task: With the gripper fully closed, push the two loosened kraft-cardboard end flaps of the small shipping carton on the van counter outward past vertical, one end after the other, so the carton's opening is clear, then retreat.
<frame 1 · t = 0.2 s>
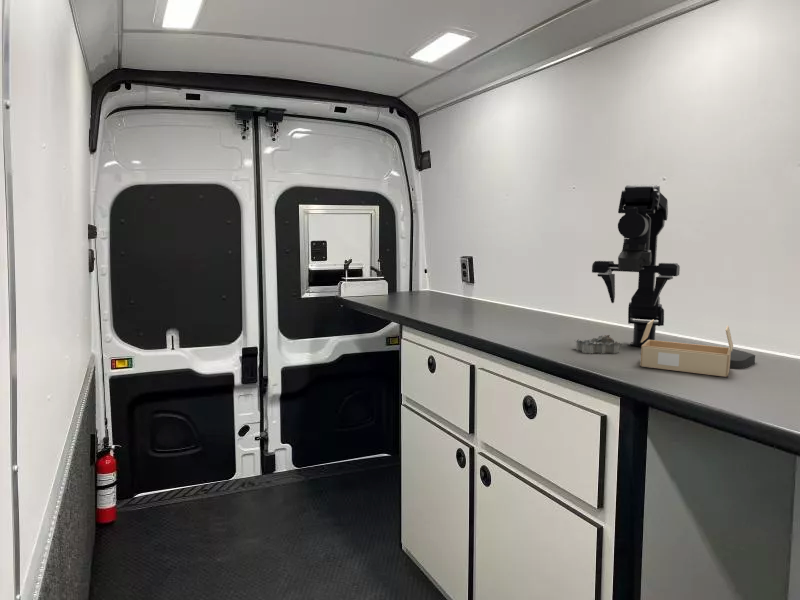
hand: (632, 304, 137), 14 cm above the worktop, fingers open, 9 cm apart
flap b: (647, 330, 138), point 8 cm above the worktop, hinge at 15.0°
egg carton: (597, 352, 154), on the worktop
flap a: (729, 338, 129), point 8 cm above the worktop, hinge at 15.0°
media streaming box: (717, 363, 143), on the worktop
carton: (684, 367, 135), on the worktop
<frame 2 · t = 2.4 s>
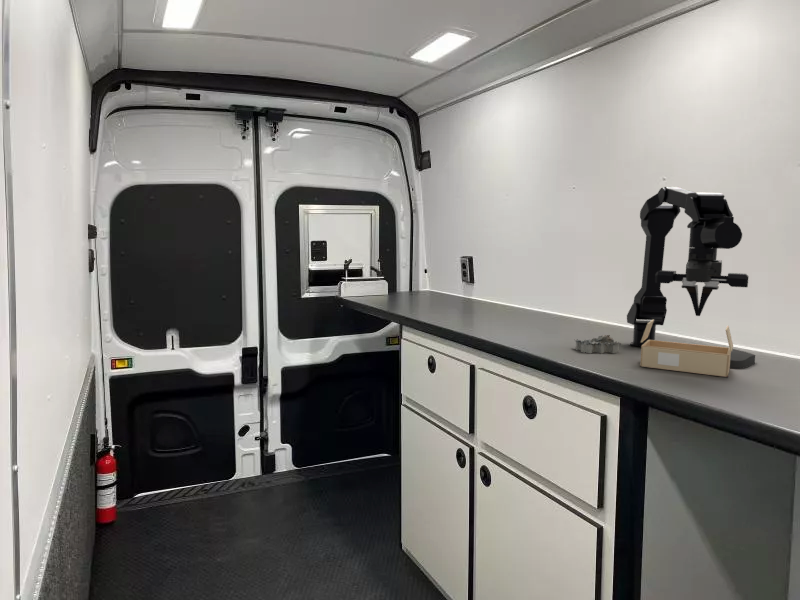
hand: (697, 315, 132), 13 cm above the worktop, fingers closed
nothing on the worktop moved.
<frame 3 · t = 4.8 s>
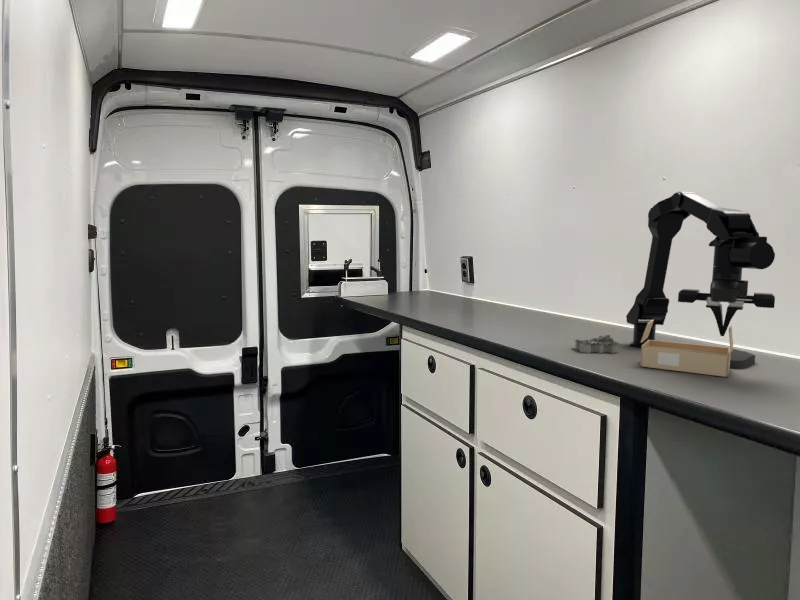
hand: (722, 335, 130), 8 cm above the worktop, fingers closed
flap a: (731, 338, 129), point 8 cm above the worktop, hinge at 8.0°, touching gripper
everything else where it was.
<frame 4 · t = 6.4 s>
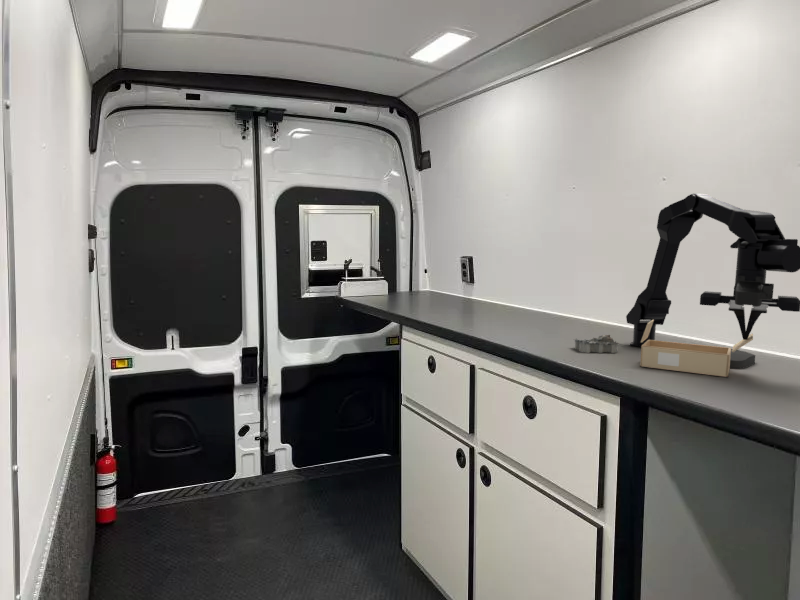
hand: (745, 339, 128), 8 cm above the worktop, fingers closed
flap a: (742, 342, 128), point 7 cm above the worktop, hinge at -47.3°, touching gripper
everything else where it was.
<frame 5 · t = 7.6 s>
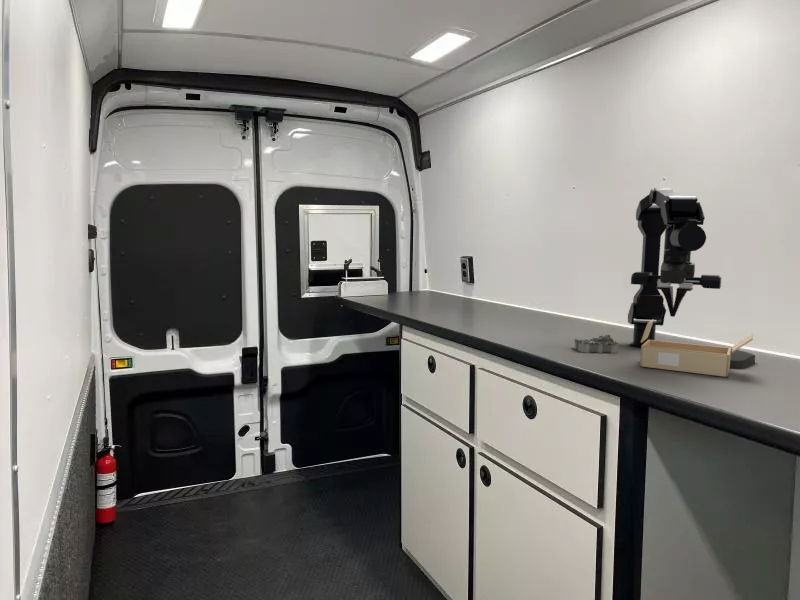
hand: (672, 316, 135), 12 cm above the worktop, fingers closed
flap a: (742, 342, 128), point 7 cm above the worktop, hinge at -47.4°
everything else where it was.
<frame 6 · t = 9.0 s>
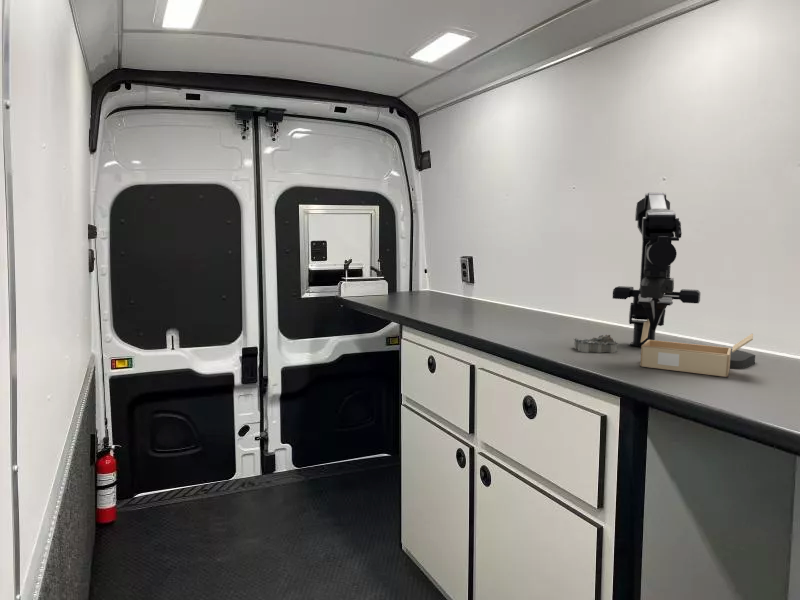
hand: (653, 330, 138), 8 cm above the worktop, fingers closed
flap b: (645, 330, 138), point 8 cm above the worktop, hinge at 5.9°, touching gripper
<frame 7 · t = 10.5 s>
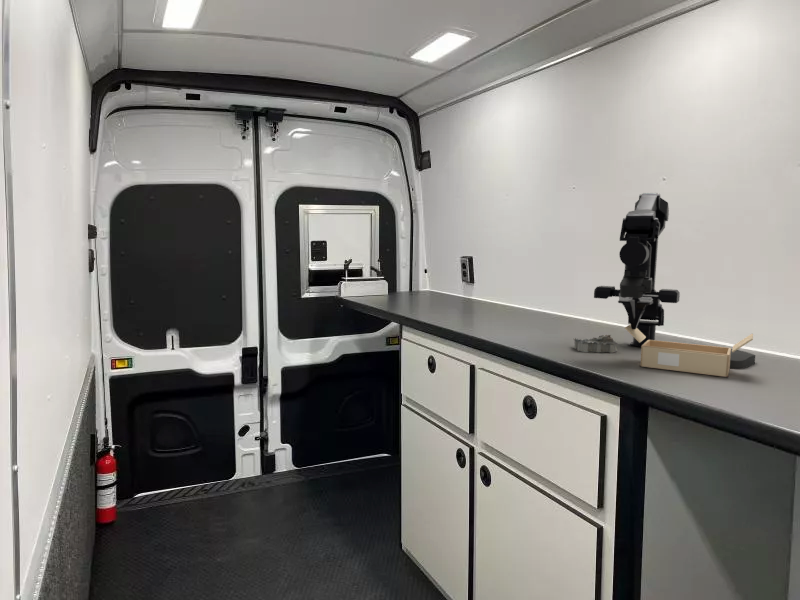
hand: (634, 329, 140), 8 cm above the worktop, fingers closed
flap b: (635, 332, 140), point 7 cm above the worktop, hinge at -47.7°, touching gripper
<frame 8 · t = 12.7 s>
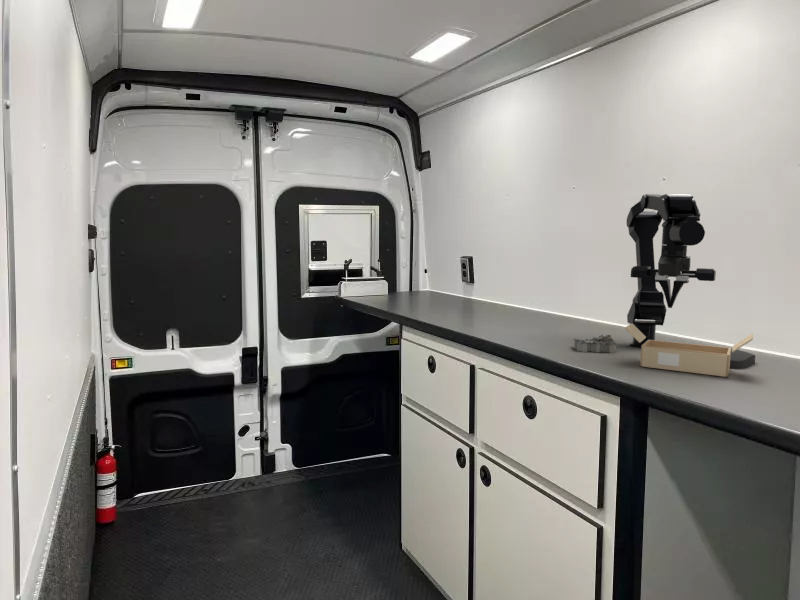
hand: (670, 307, 143), 13 cm above the worktop, fingers closed
flap b: (635, 332, 140), point 7 cm above the worktop, hinge at -47.7°
at the end: flap a at -47° (first picture: +15°); flap b at -48° (first picture: +15°) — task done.
